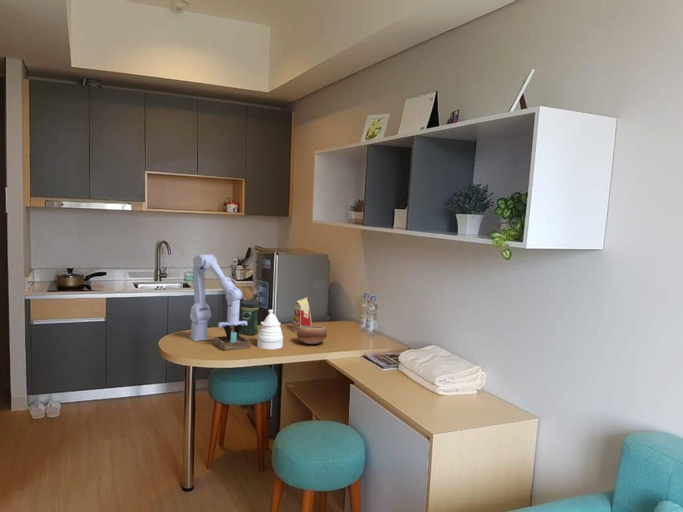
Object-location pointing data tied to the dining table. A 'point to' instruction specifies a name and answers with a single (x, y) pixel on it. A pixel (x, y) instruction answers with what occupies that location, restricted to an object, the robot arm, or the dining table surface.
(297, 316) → the milk carton
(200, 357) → the dining table surface
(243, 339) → the socket box
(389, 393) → the dining table surface
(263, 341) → the honey pot
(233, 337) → the peg
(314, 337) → the bowl
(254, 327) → the coffee jar
